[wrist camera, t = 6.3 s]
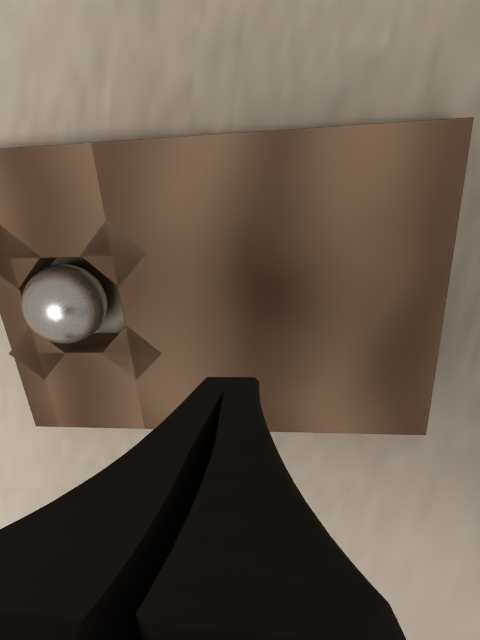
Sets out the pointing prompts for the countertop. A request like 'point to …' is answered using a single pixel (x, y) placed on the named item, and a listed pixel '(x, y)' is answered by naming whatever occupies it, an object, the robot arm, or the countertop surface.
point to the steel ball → (64, 303)
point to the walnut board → (243, 271)
